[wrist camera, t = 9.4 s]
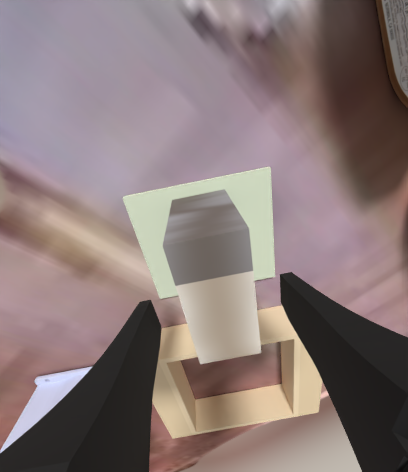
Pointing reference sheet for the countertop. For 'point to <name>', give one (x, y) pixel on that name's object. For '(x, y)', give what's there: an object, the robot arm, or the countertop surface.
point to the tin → (395, 43)
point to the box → (213, 275)
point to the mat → (236, 185)
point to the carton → (238, 403)
